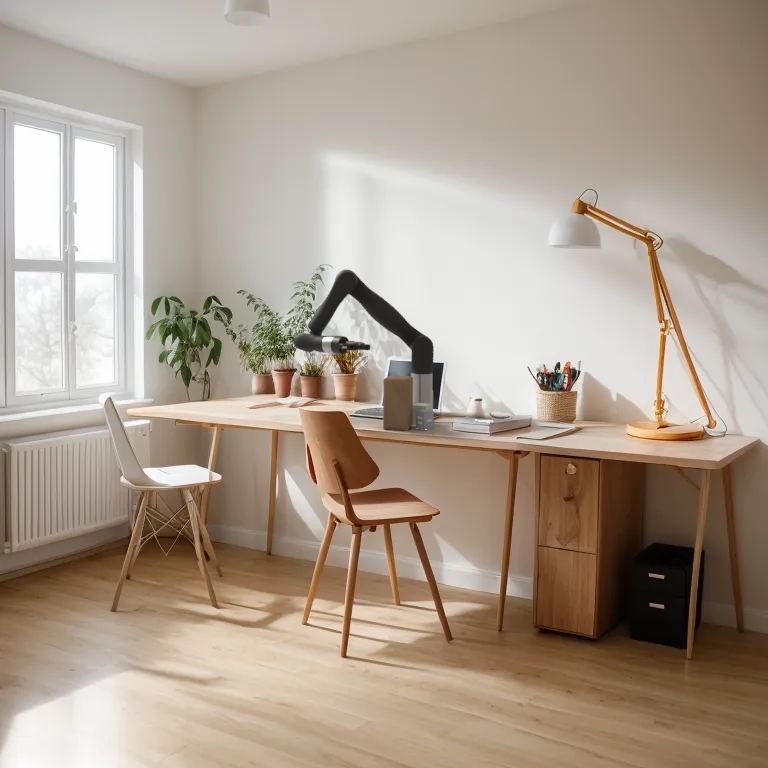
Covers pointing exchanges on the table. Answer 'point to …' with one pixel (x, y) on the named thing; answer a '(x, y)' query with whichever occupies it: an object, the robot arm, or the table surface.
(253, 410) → the table surface
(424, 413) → the slate block
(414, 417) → the sage block
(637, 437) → the table surface
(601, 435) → the table surface
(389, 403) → the block
